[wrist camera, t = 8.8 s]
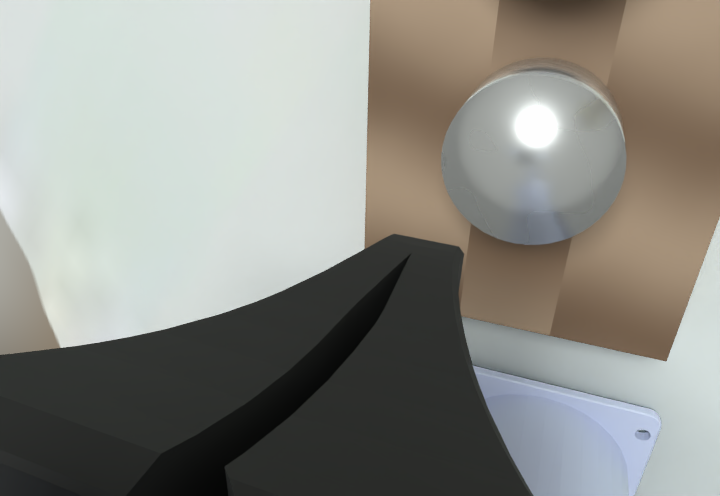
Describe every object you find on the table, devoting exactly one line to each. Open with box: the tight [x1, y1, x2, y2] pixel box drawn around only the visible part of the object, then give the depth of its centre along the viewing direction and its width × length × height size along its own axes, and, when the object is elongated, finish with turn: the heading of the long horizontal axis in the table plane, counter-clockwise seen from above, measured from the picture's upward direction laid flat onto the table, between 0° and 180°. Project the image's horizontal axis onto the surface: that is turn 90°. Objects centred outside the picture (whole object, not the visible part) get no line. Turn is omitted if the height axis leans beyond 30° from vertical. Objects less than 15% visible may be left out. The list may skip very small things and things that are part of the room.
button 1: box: [441, 58, 626, 245], centre depth 16 cm, size 4×4×4 cm
